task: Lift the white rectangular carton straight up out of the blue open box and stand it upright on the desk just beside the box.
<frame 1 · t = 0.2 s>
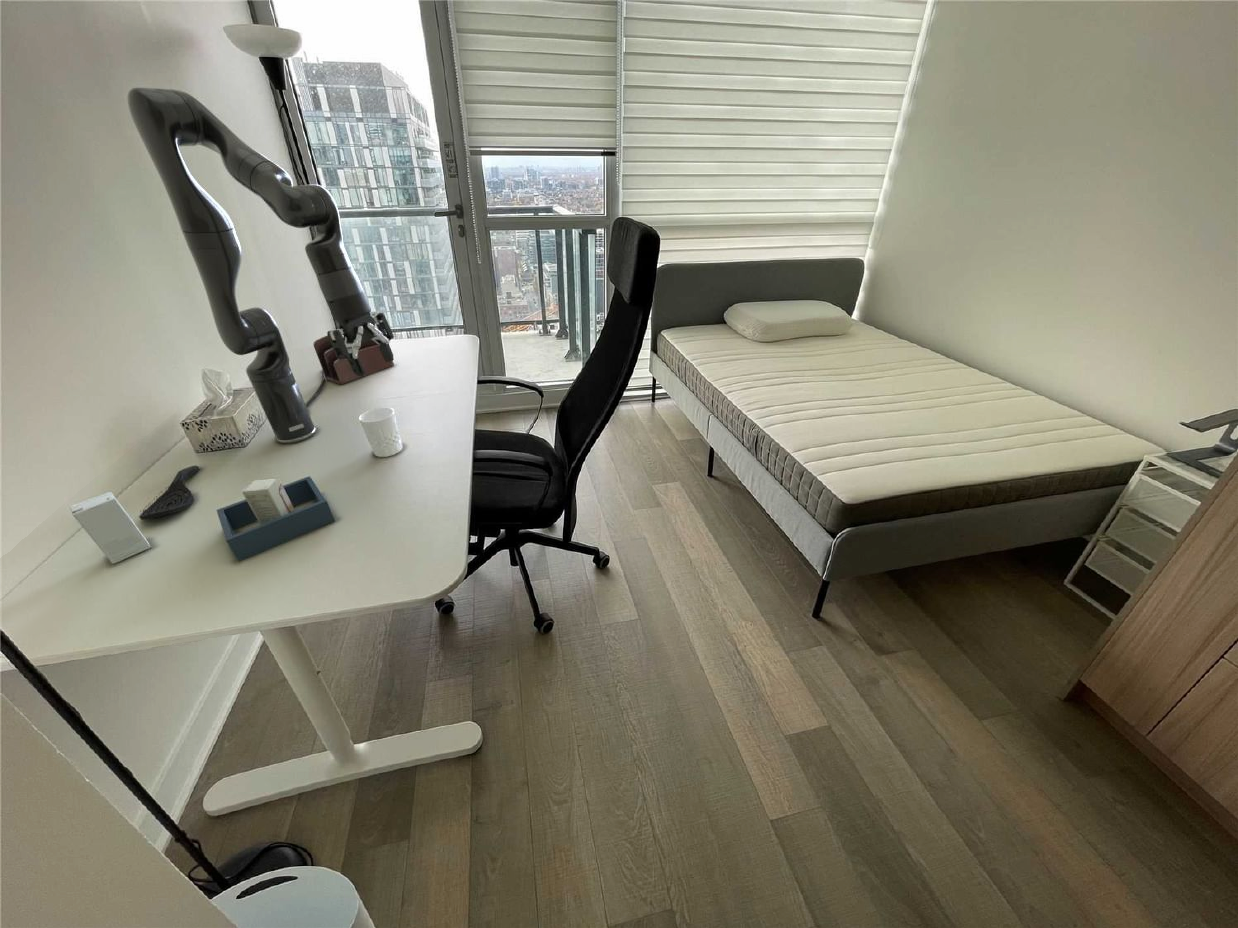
hand: (376, 368, 113), 22 cm above the table, tool pointing down, fingers open, 8 cm apart
white cup: (388, 451, 128), on the table
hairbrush: (179, 495, 115), on the table
blue open box: (281, 525, 103), on the table
white rectangular carton: (282, 526, 103), resting in blue open box
letter holder: (361, 373, 176), on the table
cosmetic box: (130, 553, 98), on the table
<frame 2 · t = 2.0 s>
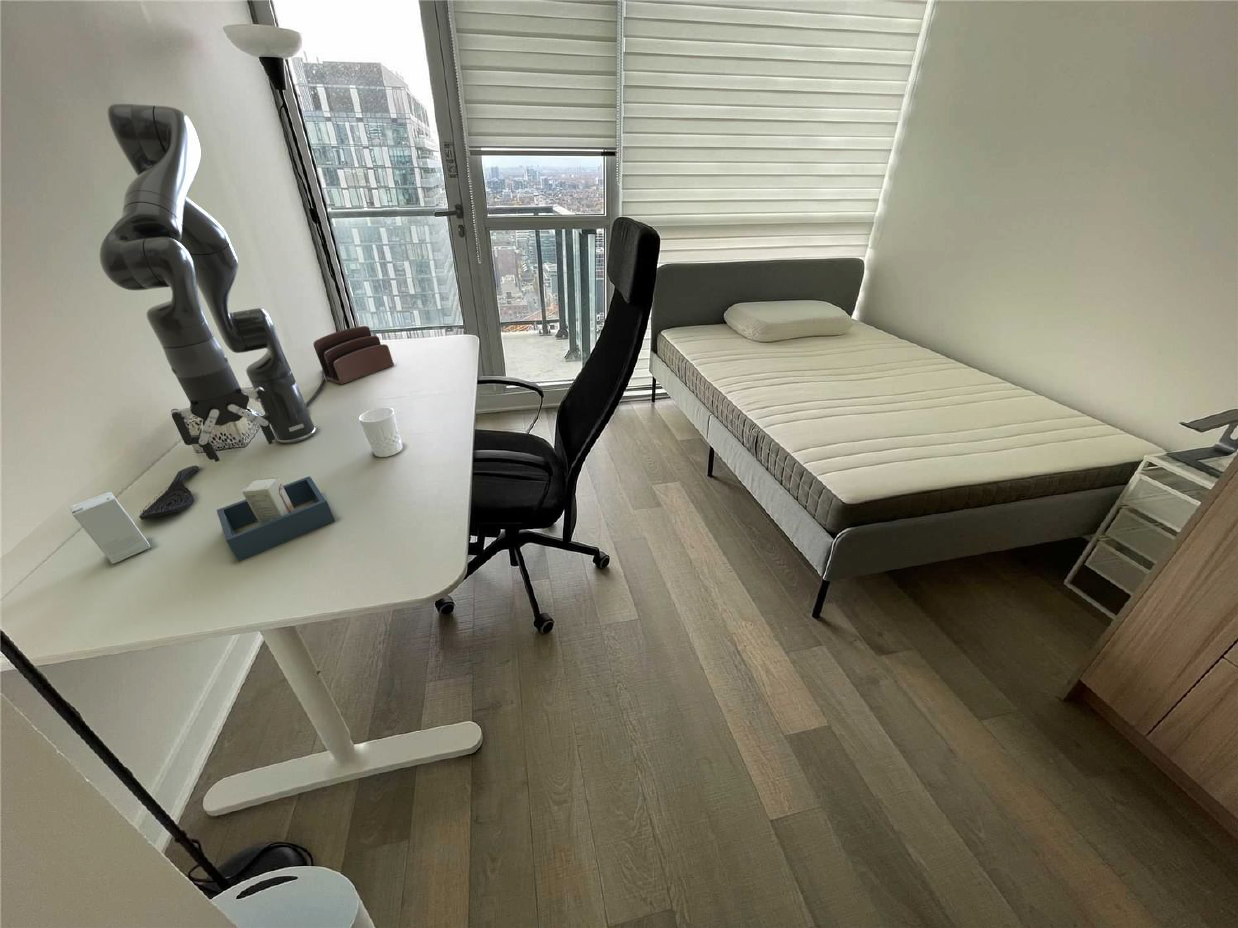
hand: (244, 451, 94), 17 cm above the table, tool pointing down, fingers open, 8 cm apart
nothing on the table moved.
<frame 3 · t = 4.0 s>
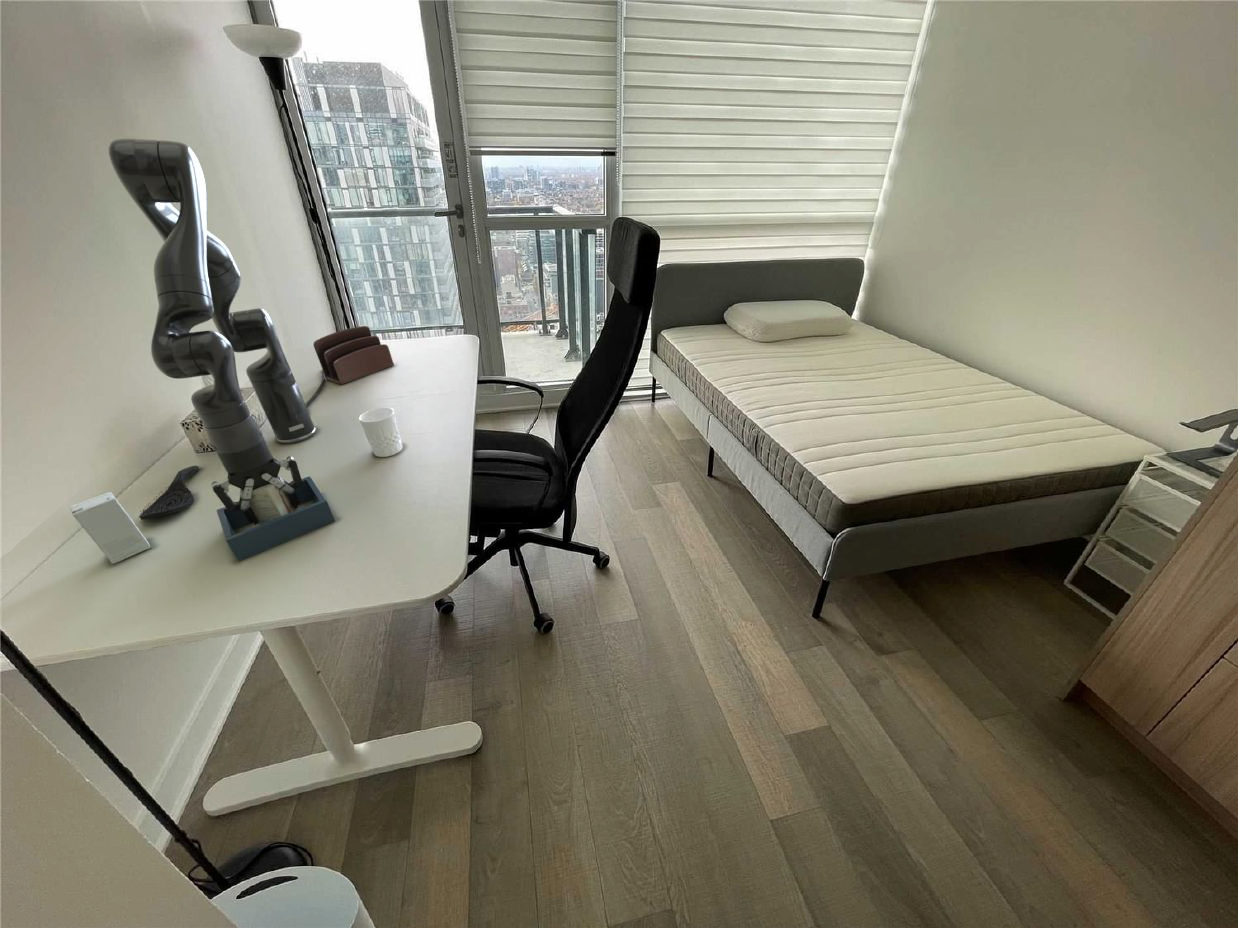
hand: (276, 514, 102), 3 cm above the table, tool pointing down, fingers closed on white rectangular carton, 6 cm apart
white rectangular carton: (282, 526, 103), resting in blue open box, touching gripper
everything else where it was.
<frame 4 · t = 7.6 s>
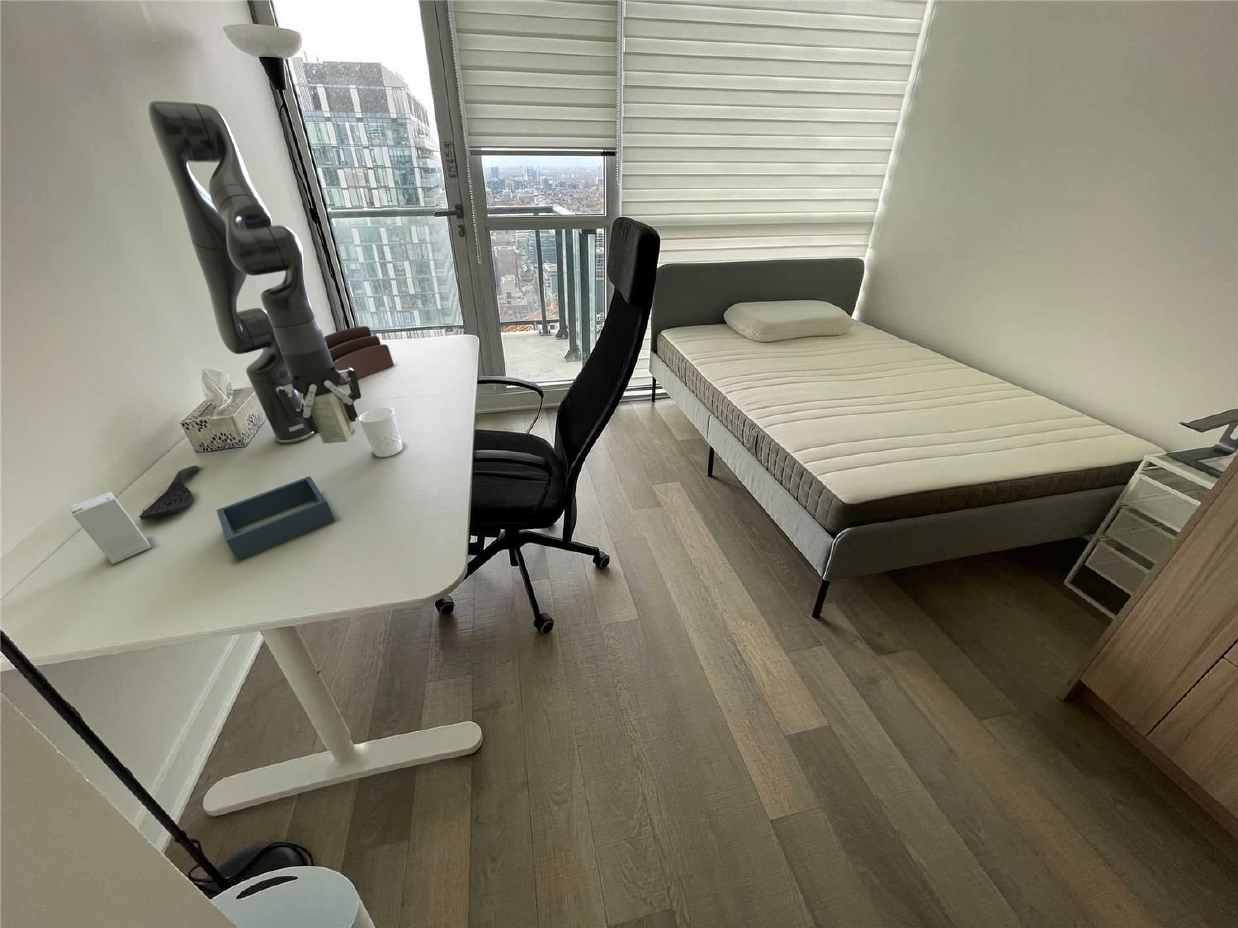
hand: (334, 426, 103), 17 cm above the table, tool pointing down, fingers closed on white rectangular carton, 6 cm apart
white rectangular carton: (339, 438, 104), point 14 cm above the table, touching gripper
everything else where it was.
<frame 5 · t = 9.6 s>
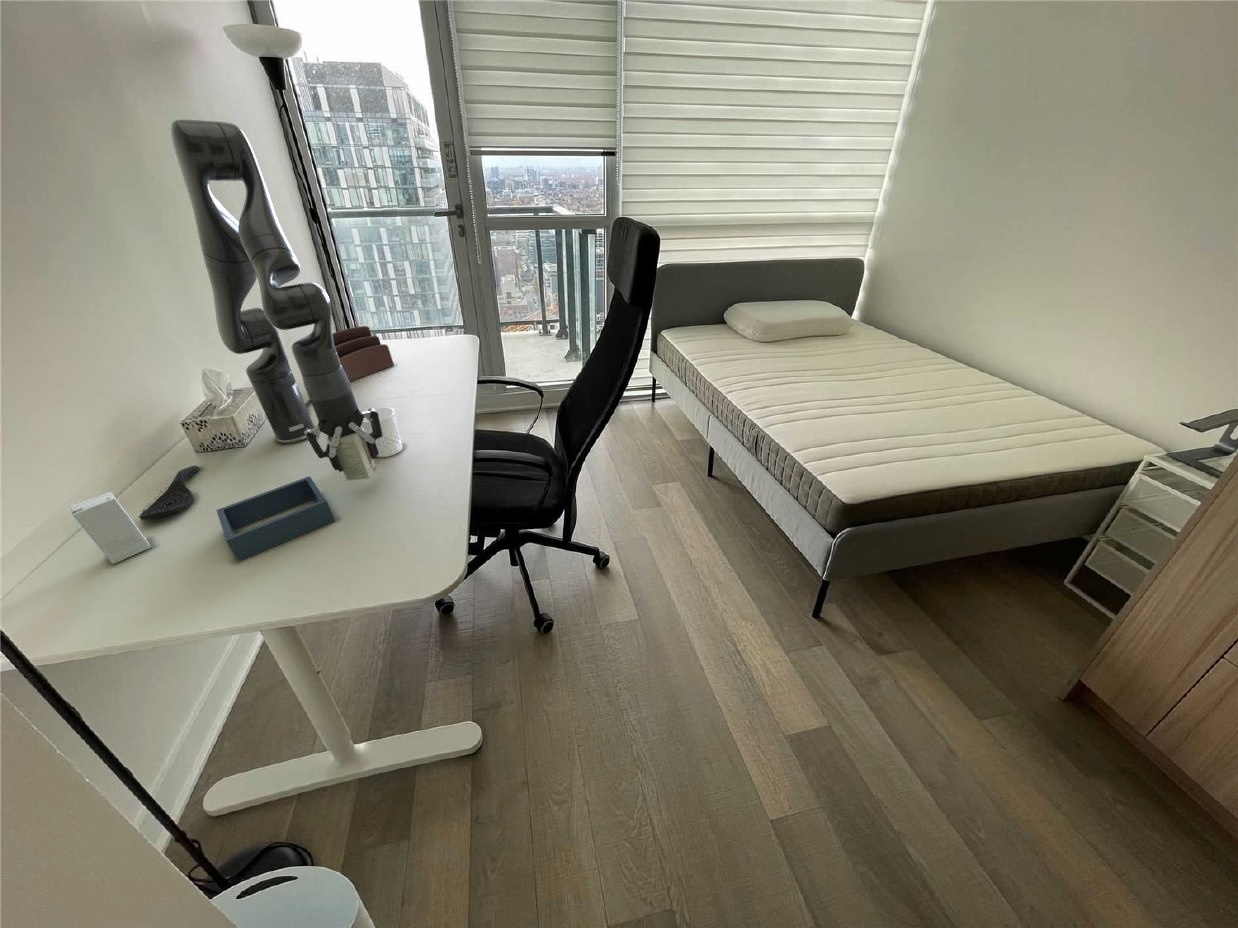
hand: (357, 463, 109), 7 cm above the table, tool pointing down, fingers closed on white rectangular carton, 6 cm apart
white rectangular carton: (361, 475, 110), point 4 cm above the table, touching gripper
everything else where it was.
when the fingers open (3 cm above the table, at t = 11.2 s): white rectangular carton stays where it is, on the table.
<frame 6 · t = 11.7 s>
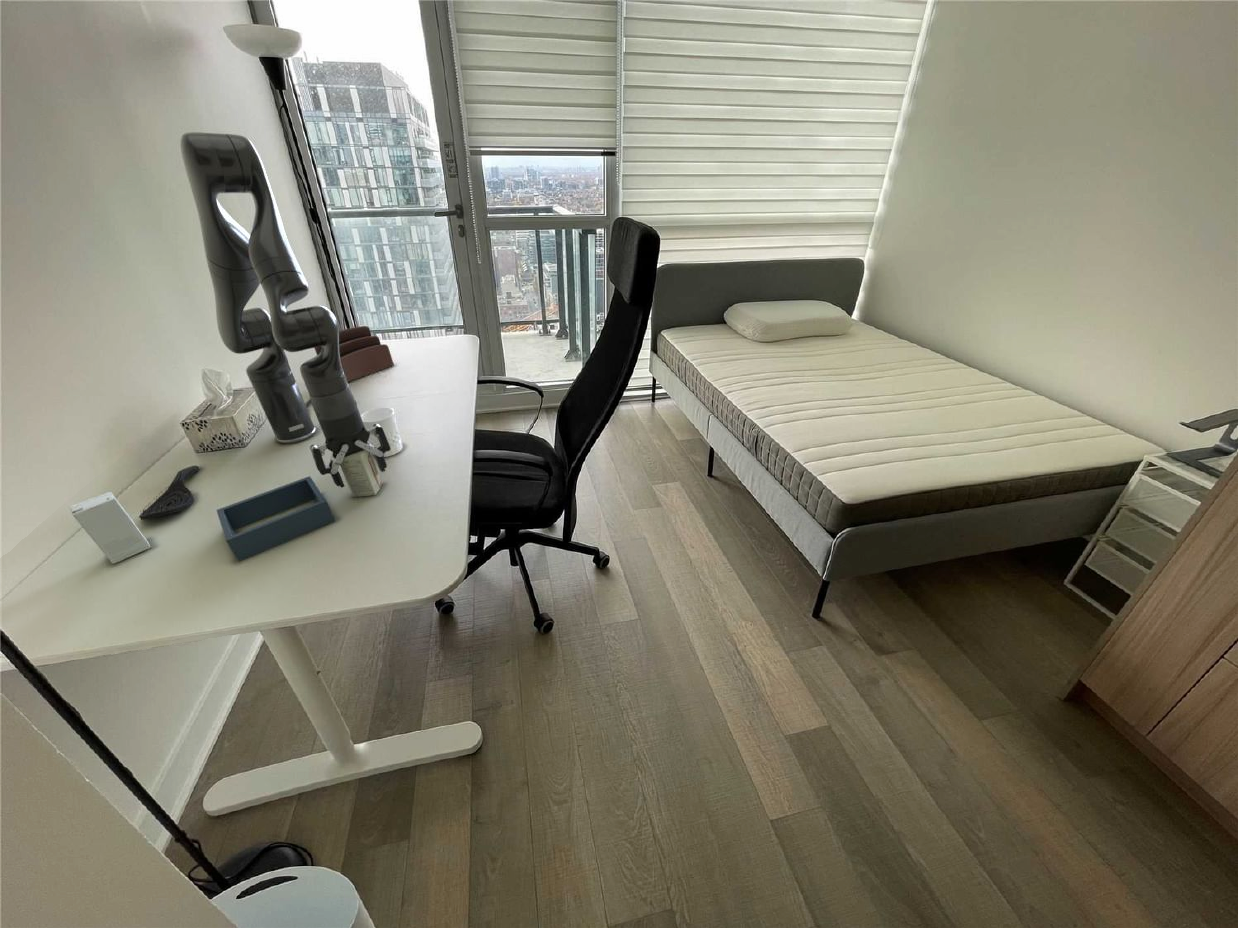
hand: (362, 478, 110), 3 cm above the table, tool pointing down, fingers open, 8 cm apart
white rectangular carton: (368, 491, 112), on the table
everything else where it was.
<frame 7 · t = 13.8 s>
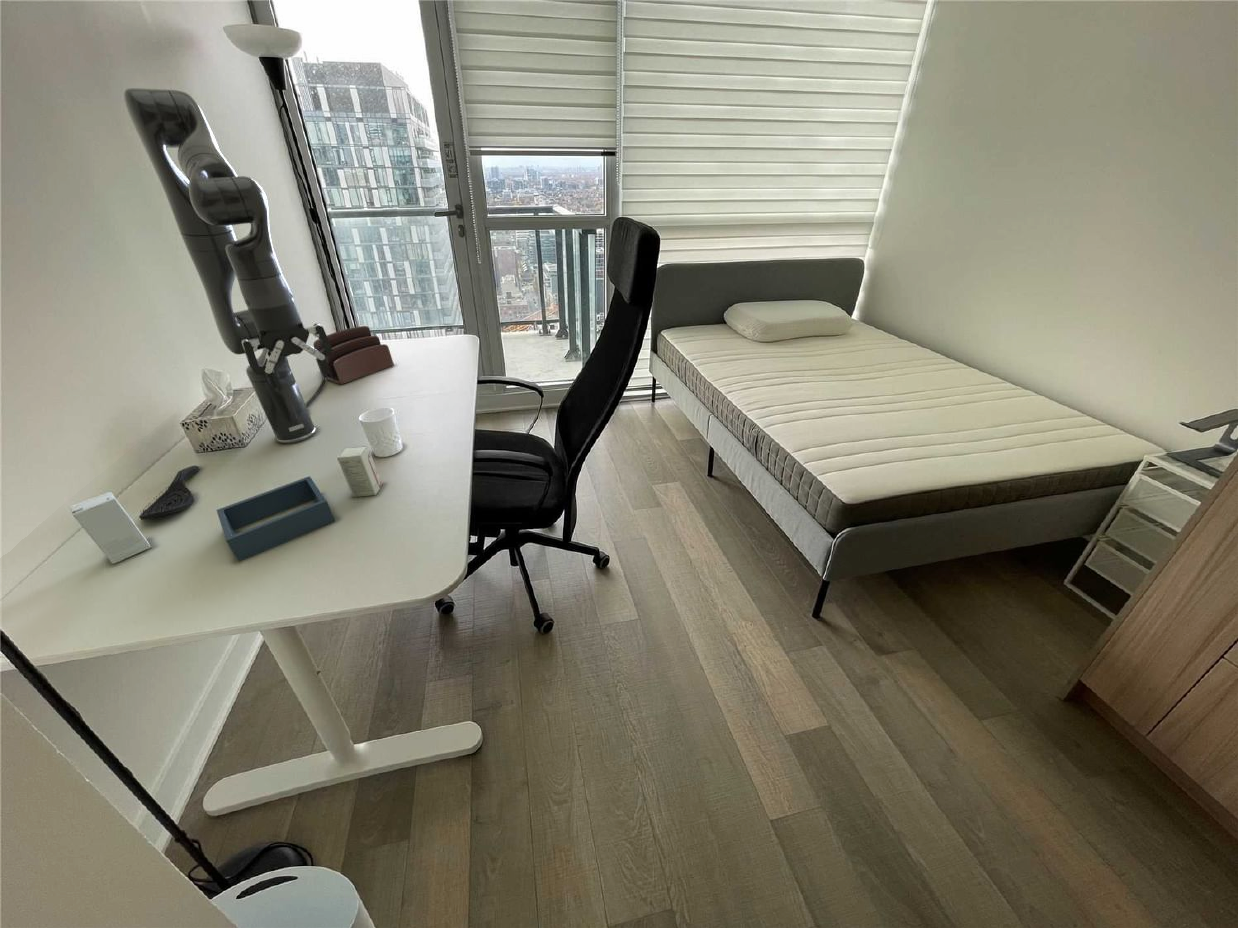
hand: (302, 383, 103), 24 cm above the table, tool pointing down, fingers open, 8 cm apart
nothing on the table moved.
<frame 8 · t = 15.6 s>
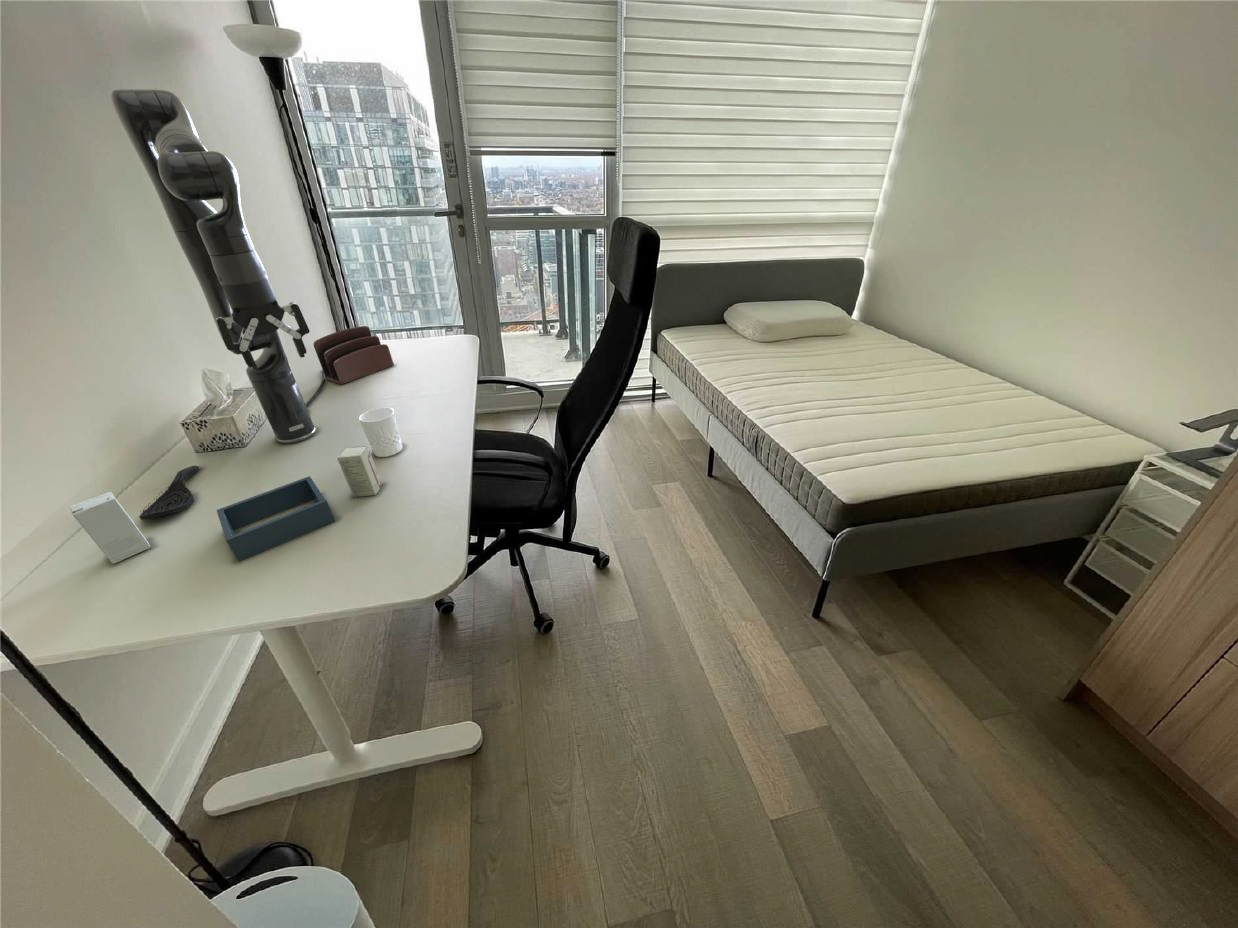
hand: (279, 362, 103), 28 cm above the table, tool pointing down, fingers open, 8 cm apart
nothing on the table moved.
at the end: white rectangular carton inside the target area (0.1 cm from its centre), on the table; white rectangular carton tilted 0°; the gripper is holding nothing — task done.
